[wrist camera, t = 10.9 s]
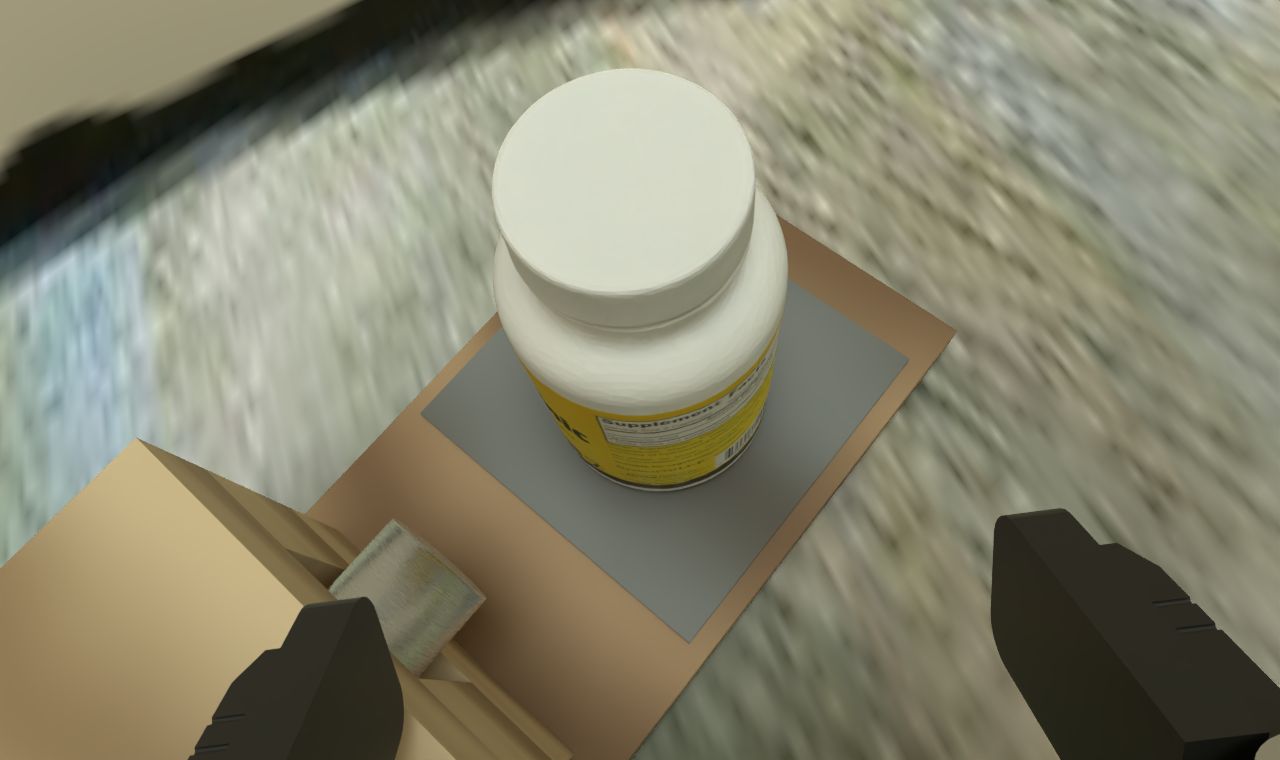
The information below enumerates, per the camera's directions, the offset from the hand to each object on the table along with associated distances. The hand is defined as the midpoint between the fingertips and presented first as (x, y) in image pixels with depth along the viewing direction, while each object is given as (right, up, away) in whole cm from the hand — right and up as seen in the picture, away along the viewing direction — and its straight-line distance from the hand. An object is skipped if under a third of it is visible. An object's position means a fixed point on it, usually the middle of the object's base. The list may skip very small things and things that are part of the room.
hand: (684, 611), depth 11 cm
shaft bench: (-4, -3, +10) cm, 12 cm away
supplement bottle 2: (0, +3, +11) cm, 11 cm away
